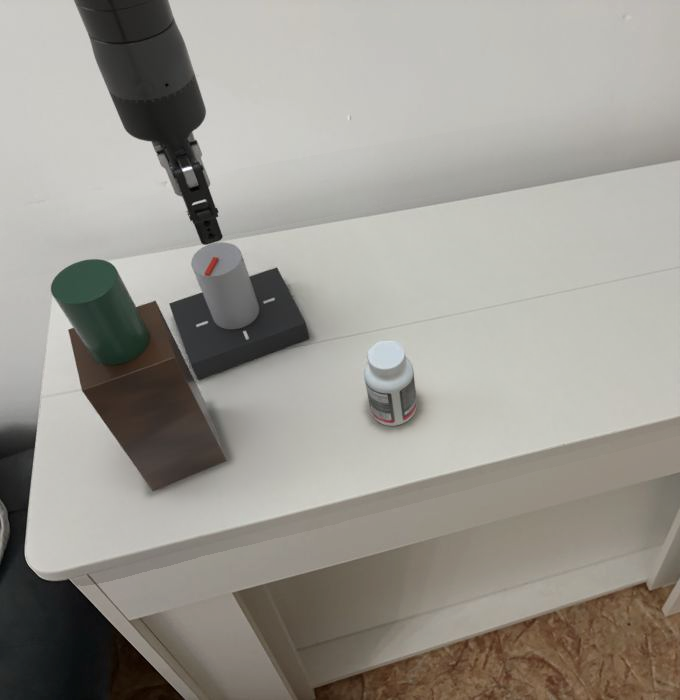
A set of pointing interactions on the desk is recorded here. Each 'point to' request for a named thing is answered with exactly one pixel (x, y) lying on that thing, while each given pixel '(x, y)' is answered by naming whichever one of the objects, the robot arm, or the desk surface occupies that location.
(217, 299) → the grey round cylinder
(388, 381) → the pill bottle
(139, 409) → the stand
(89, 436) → the desk surface
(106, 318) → the tea tin
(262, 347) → the dark grey panel
